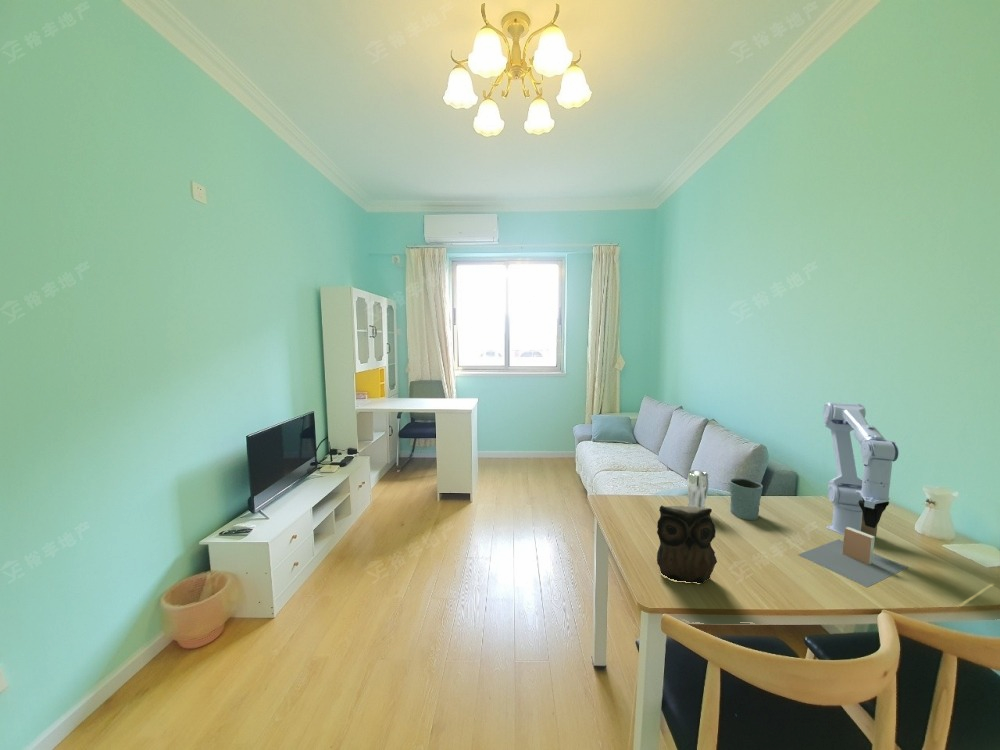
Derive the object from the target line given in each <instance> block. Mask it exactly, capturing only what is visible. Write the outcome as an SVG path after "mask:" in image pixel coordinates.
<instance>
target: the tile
mask: <svg viewBox="0 0 1000 750" xmlns="http://www.w3.org/2000/svg"><path fill="white" fill-rule="evenodd" d="M875 539H876V537H875V536H872V535H869V534H866V533H864V532H861V531H858V530H855V529H853V528H850V527H847V528H845V532H844V535H843V541H844V543H843V553H842V554H844V555H847V556H849V557H851V558H854V559H856V560H858V561H861V562H863V563H865V564H868V565H869V564H872V560H873V553H874V549H875Z"/></svg>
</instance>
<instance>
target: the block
mask: <svg viewBox="0 0 1000 750" xmlns="http://www.w3.org/2000/svg"><path fill="white" fill-rule="evenodd" d="M878 525H879V523H877V526H876V527H875V528H872V527H869V526H866V525H865V522H864V516H863V513H862V523H861V532H864V533H866V534H869V535H872V536H875V538H876V537H877V533H878Z"/></svg>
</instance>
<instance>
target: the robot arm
mask: <svg viewBox="0 0 1000 750" xmlns="http://www.w3.org/2000/svg"><path fill="white" fill-rule="evenodd" d="M822 416H823V421H824V422H823V423H824V427H826V429H827V428H828V429H829V430H830V433H831V438H832V445H833V446H832V447H833V451H834V459H835V467H836V473H837V476H836V477H834V478H831V479H830V480H829V481H828V484H827V486H828V490H827V498H828V500H829V501H830V502H831V503H832V504H833V511H832V512H833V513H832V522H831V525H827V526H826V527H825V528H826V529H828V530H830V531H832V532H836V534H837V533H838V534H840V535H843V536H844V532H845V528H847V527H850V528H853V529H855V530H858V531H861V523H862V513H863V516H864V522H865V525H866V526H869V527H872V528H875V527H876V526H877V527H878V524H879V522H880V520H881V518H882V515H883V512H885V510H886V509H887V507H889V504H890V502H889V501H890V497H889V496H890V495H889V494H890V487H891V479H892V478H891V476H892V468H893V462H896V461H897V460H898V459H899V453H900V452H899V447H898V444H896V442H895V441H894V440H889V439H886V438H885V437H884V436H883V435H882V434H881V432H880V431H879V429H877V428H876V427H875V426H874V425H870V424H869V423H868V421H867V420H866V408H865V406H864V405H863V404H862V403H847V402H846V403H844V402H831V401H827V402H826V403H825V404H824V406H823V410H822ZM852 431H853V433H852V434H853V436H854V438H855V439H856V441H857V442H858V444H859V445H860V453H861V456H862V457H861V463H862V464H863V469H862V470H863V471H862V478H859V477H858V473H857V468H856V460H855V456H854V450H853V445H852V444H853V443H852V438H851V432H852ZM877 523H878V524H877Z"/></svg>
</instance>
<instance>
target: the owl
mask: <svg viewBox="0 0 1000 750" xmlns="http://www.w3.org/2000/svg"><path fill="white" fill-rule="evenodd" d="M712 510H713V509H712V508H710V507H709V508H707V507H705V508H698V507H691V506H688V505H687V506H685V505H669V506H664V505H662V504H661V505H660V507H659V513H660V516H659V518H658V520H657V527H656V529H657V531H656V534H657V536H658V539H659V547H658V549H657V554H656V562H657V565H658V567H659V572H660V571H661V573H662V574H663V575H665V576H667V577H668V578H670V579H674V580H677V581H686V582H697V583H702V584H704V583H705V582H706V581H705V580H707V579H709V578H710V579H711V576H712V574H713V571H714V569H715V566H716V565H717V563H718V561H717V557H716V551H715V550H714V549H713V547H712V541H713V540H714V539H715V537H716V527H715V526H716V525H715V522H714V521H713V519H712V517H711V513H712ZM704 581H705V582H704ZM707 581H708V580H707ZM703 582H704V583H703Z"/></svg>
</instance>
